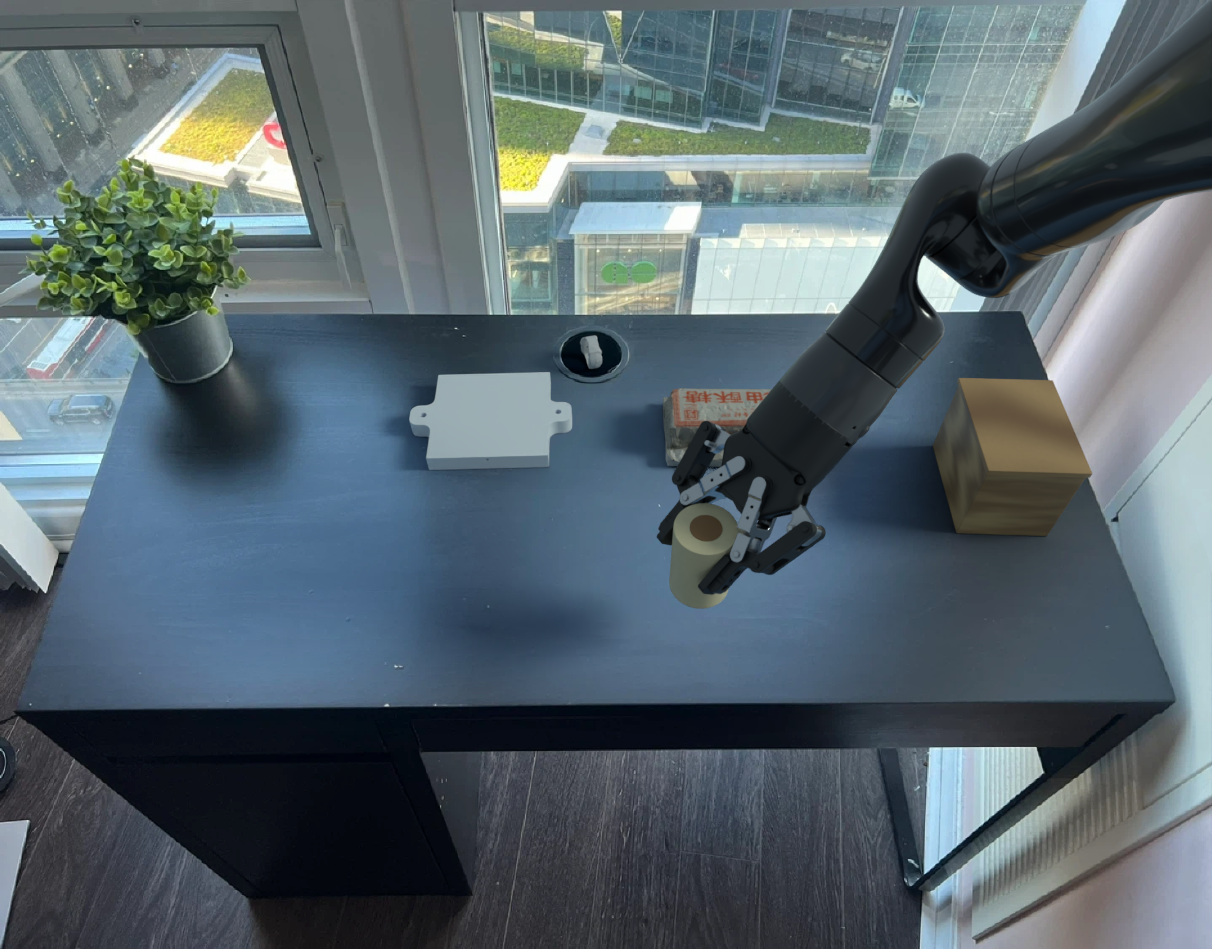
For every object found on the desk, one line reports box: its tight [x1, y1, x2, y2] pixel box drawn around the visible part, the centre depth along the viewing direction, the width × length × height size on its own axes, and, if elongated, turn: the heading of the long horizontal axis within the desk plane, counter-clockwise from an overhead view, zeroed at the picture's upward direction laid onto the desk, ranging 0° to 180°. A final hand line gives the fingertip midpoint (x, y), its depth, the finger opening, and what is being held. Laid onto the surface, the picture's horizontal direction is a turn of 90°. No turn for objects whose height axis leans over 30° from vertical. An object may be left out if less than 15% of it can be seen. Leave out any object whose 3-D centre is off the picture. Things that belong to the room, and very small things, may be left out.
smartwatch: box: [579, 335, 603, 370], centre depth 100 cm, size 4×2×4 cm, turn 14°
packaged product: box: [662, 387, 773, 468], centre depth 92 cm, size 18×5×10 cm
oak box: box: [932, 377, 1093, 537], centre depth 85 cm, size 12×9×10 cm
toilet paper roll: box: [668, 503, 738, 610], centre depth 70 cm, size 5×5×8 cm
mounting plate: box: [408, 371, 573, 471], centre depth 94 cm, size 18×13×2 cm
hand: (685, 565), depth 69 cm, fingers closed on toilet paper roll, 5 cm apart
